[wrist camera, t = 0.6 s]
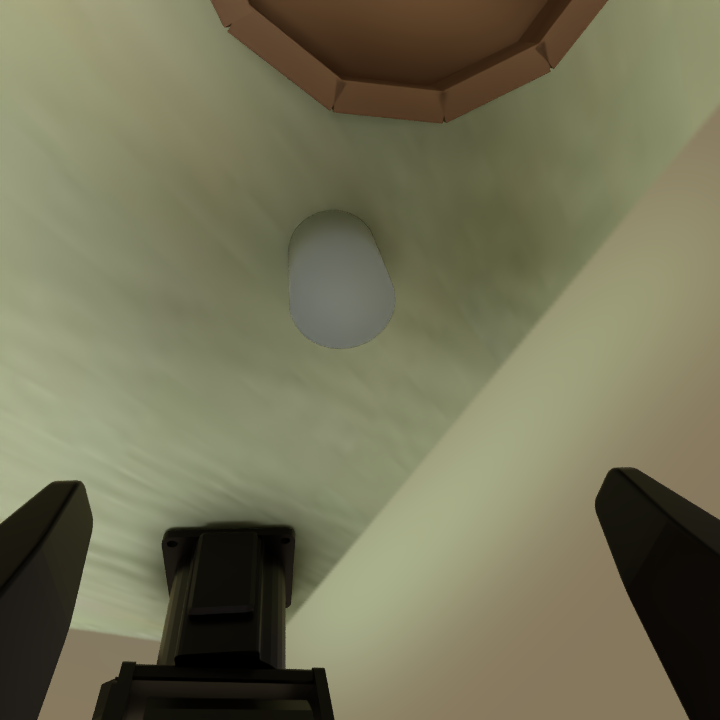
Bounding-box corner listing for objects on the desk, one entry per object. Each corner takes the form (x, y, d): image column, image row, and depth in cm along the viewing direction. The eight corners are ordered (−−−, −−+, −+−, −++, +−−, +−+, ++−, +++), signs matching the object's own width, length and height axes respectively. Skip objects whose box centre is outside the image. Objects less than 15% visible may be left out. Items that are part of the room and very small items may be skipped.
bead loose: (370, 295, 20) (387, 350, 17) (286, 291, 20) (287, 347, 16) (381, 213, 18) (402, 256, 15) (290, 206, 18) (291, 250, 14)
